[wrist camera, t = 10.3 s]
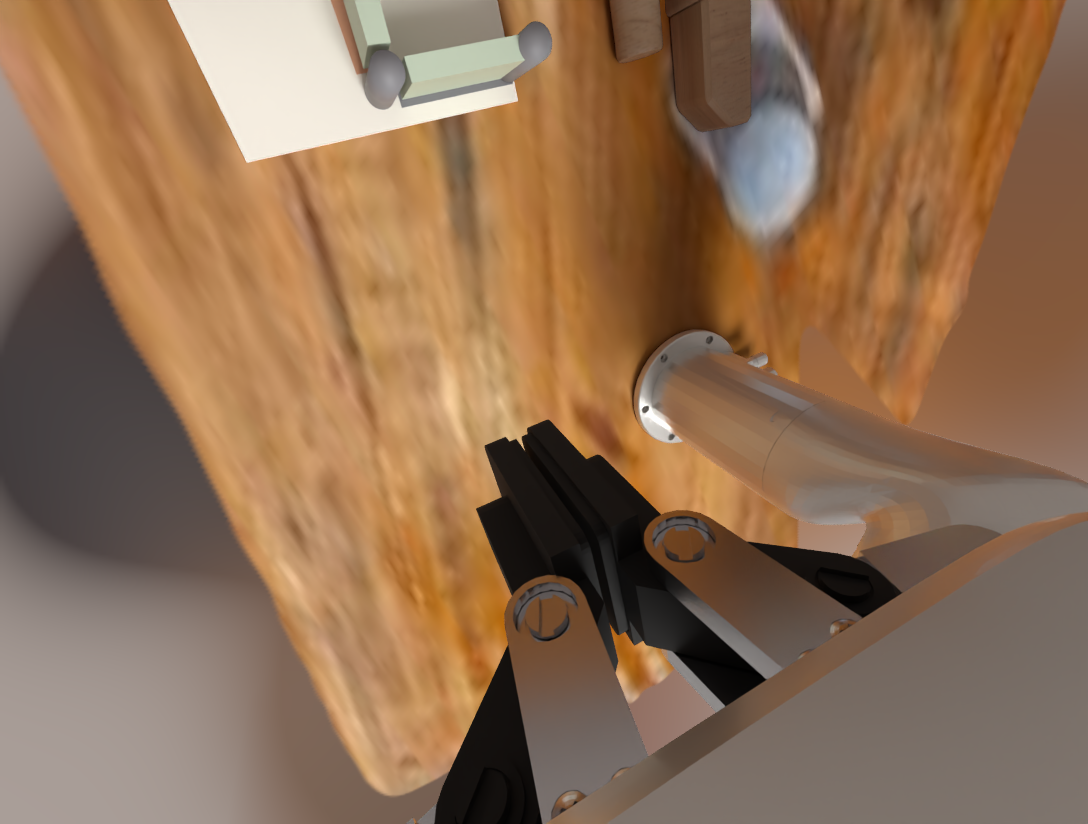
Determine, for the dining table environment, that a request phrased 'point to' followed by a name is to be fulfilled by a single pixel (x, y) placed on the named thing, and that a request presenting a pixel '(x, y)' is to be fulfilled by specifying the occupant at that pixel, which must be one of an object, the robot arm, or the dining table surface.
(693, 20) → the wooden block set
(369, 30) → the hinged fence panel
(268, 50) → the card
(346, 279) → the dining table surface
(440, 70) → the fixed fence panel
